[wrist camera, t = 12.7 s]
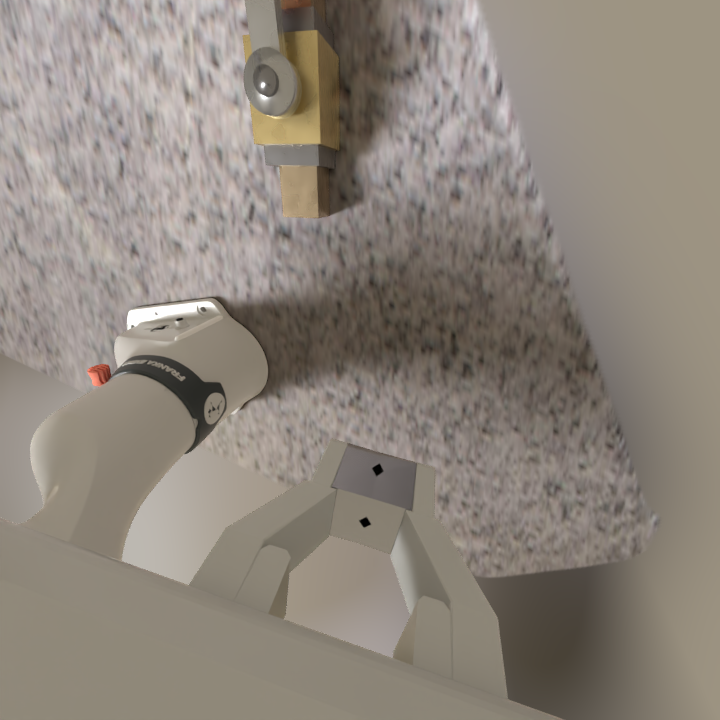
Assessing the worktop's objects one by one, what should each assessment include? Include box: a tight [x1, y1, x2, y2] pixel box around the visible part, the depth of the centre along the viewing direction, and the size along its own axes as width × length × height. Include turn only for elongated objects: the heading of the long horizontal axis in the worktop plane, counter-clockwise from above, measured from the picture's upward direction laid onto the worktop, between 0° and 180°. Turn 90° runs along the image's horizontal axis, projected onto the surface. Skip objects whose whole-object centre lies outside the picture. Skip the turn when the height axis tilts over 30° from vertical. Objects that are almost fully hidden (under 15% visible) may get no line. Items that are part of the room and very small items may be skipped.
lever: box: [244, 0, 302, 119], centre depth 23 cm, size 12×4×2 cm, turn 2°
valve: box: [243, 0, 340, 218], centre depth 29 cm, size 19×6×7 cm, turn 179°
